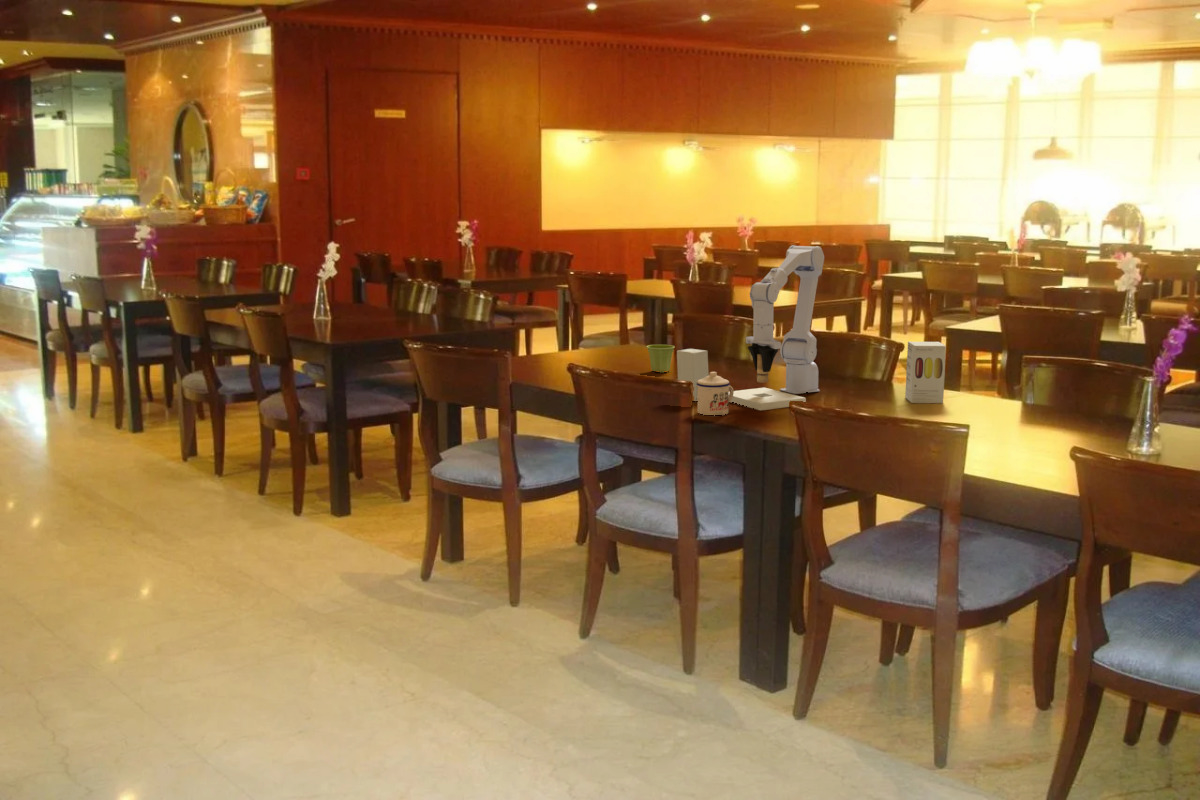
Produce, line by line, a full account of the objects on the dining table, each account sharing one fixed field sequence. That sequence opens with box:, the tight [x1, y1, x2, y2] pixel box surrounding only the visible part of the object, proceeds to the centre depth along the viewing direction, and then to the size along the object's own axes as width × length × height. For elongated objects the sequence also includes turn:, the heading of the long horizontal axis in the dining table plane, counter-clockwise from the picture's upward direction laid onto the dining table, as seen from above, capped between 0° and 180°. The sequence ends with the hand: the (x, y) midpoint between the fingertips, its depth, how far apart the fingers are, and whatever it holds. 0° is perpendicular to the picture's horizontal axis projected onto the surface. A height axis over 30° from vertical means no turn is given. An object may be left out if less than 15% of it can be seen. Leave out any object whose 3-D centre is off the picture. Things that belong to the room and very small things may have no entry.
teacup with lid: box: [697, 371, 735, 417], centre depth 337 cm, size 12×9×12 cm
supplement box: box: [904, 341, 947, 404], centre depth 350 cm, size 10×9×17 cm
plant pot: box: [646, 344, 676, 373], centre depth 406 cm, size 9×9×9 cm
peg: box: [756, 354, 769, 384], centre depth 350 cm, size 3×3×8 cm
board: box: [729, 386, 807, 411], centre depth 352 cm, size 16×20×2 cm
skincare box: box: [676, 348, 710, 401], centre depth 356 cm, size 8×6×15 cm
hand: (762, 370), depth 350 cm, fingers closed on peg, 3 cm apart
